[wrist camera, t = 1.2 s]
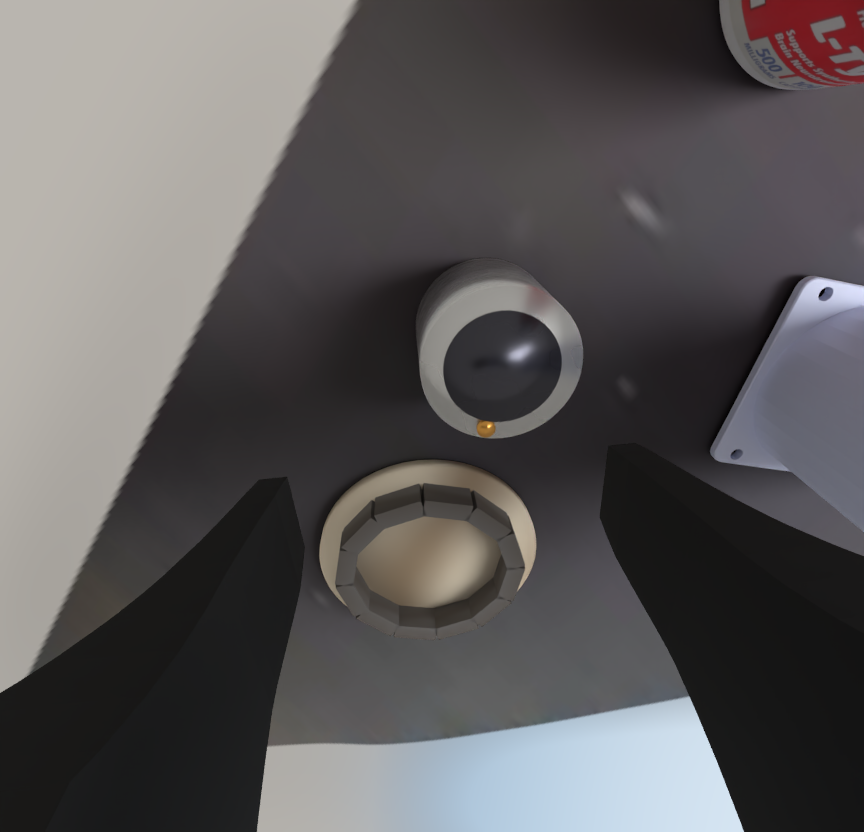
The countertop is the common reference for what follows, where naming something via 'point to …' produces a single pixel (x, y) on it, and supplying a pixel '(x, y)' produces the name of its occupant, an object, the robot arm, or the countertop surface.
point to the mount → (427, 548)
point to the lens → (495, 349)
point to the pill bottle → (797, 41)
